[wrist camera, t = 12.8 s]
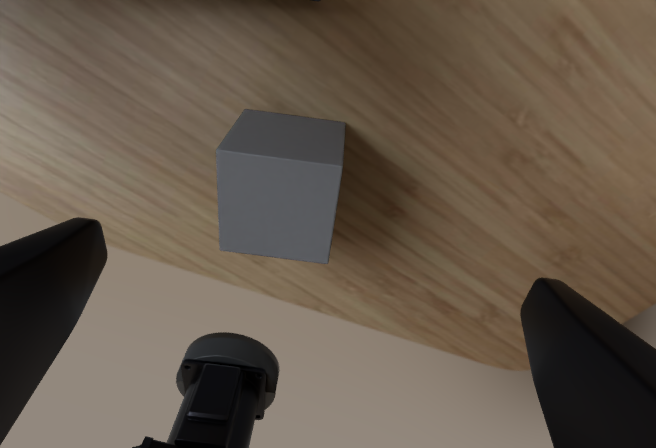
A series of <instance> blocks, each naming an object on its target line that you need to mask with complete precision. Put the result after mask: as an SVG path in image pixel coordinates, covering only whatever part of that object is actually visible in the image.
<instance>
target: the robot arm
mask: <svg viewBox="0 0 656 448" xmlns="http://www.w3.org/2000/svg"><path fill="white" fill-rule="evenodd" d="M106 261H107V249H106V244H105V239H104V235H103V231H102V227H101V224H100V223H99V222H98V221H97V220H95V219H88V218H79V217H78V218H73V219H70V220H68V221H65V222H63V223H60V224H57V225H55V226H52V227H50V228H47V229H44V230H42V231H39V232H36V233H34V234H31V235H29V236H26V237H23V238H21V239H18V240H15V241H13V242H10V243H8V244H5V245H2V246H0V445H1V443H2V442H3V440H4V439H5V437H6V435H7V434H8V432H9V431H10V429H11V427H12V426H13V424H14V423H15V421H16V420H17V418H18V416H19V415H20V413H21V412H22V410H23V408H24V407H25V405H26V404H27V402H28V400H29V399H30V397H31V396H32V394H33V393H34V391H35V389H36V388H37V386H38V385H39V383H40V381H41V380H42V378H43V376H44V375H45V374H46V372H47V370H48V369H49V367H50V366H51V364H52V362H53V361H54V359H55V358H56V356H57V354H58V353H59V351H60V350H61V348H62V346H63V345H64V343H65V342H66V340H67V339H68V337H69V335H70V334H71V332H72V330H73V328H74V327H75V325H76V323H77V321H78V319H79V317H80V316H81V314H82V311H83V309H84V307H85V305H86V303H87V301H88V299H89V297H90V295H91V293H92V291H93V289H94V287H95V285H96V282H97V280H98V278H99V276H100V274H101V272H102V270H103V268H104V266H105V263H106ZM521 321H522V326H523V331H524V336H525V342H526V347H527V352H528V357H529V362H530V367H531V372H532V376H533V381H534V385H535V388H536V391H537V395H538V398H539V402H540V405H541V408H542V411H543V414H544V417H545V421H546V424H547V427H548V430H549V433H550V436H551V440H552V443H553V446H554V448H656V349H655V348H653V347H652V346H651V345H649V344H648V343H647V342H645V341H644V340H642V339H641V338H639V337H638V336H636V335H635V334H634V333H633V332H631V331H630V330H628V329H627V328H626V327H624V326H623V325H622V324H620V323H619V322H617V321H616V320H615V319H613V318H612V317H611V316H609V315H608V314H606V313H605V312H604V311H602V310H601V309H599V308H598V307H597V306H595V305H594V304H593V303H591V302H590V301H588V300H587V299H586V298H584V297H583V296H581V295H580V294H579V293H577V292H576V291H574V290H573V289H572V288H570V287H569V286H568V285H566V284H565V283H563V282H562V281H560V280H557V279H550V278H538V279H537V280H536V281H535V282H534V283H533V285H532V287H531V289H530V291H529V293H528V295H527V297H526V298H525V300H524V302H523V304H522V307H521ZM181 369H182V377H183V385H184V393H185V396H184V399H183V402H182V404H181V407H180V409H179V412H178V415H177V417H176V420H175V422H174V425H173V427H172V430H171V433H170V435H169V438H168V440H167V443H165V442H161V441H157V440H153V438H150V437H145V438H144V440H143V443H142V444H141V445H140V446H136V447H132V448H249V444H250V439H251V435H252V430H253V425H254V421H255V420H261V419H263V417H264V410H265V392H266V374H267V372H266V370H265V369H263V368H259V367H251V366H243V365H235V364H227V363H219V362H211V361H203V360H195V359H184V360H183V362H182V365H181Z"/></svg>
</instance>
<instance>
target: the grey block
mask: <svg viewBox="0 0 656 448" xmlns="http://www.w3.org/2000/svg"><path fill="white" fill-rule="evenodd" d="M345 127H346V123H345V122H338V121H331V120H324V119H316V118H309V117H301V116H294V115H287V114H279V113H272V112H264V111H257V110H249V109H245V110H244V111H243V112H242V114H241V115H240V117H239V118H238V119H237V121H236V122H235V124H234V125H233V127H232V128H231V129H230V131H229V132H228V134H227V135H226V136H225V138H224V139H223V141H222V142H221V144H220V145H219V146H218V148H217V149H216V164H217V191H218V218H219V245H220V250H221V251H229V252H236V253H244V254H252V255H260V256H267V257H275V258H283V259H291V260H299V261H306V262H314V263H322V264H328V262H329V256H330V249H331V242H332V236H333V229H334V223H335V216H336V210H337V203H338V197H339V190H340V184H341V177H342V171H343V159H344V143H345Z"/></svg>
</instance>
